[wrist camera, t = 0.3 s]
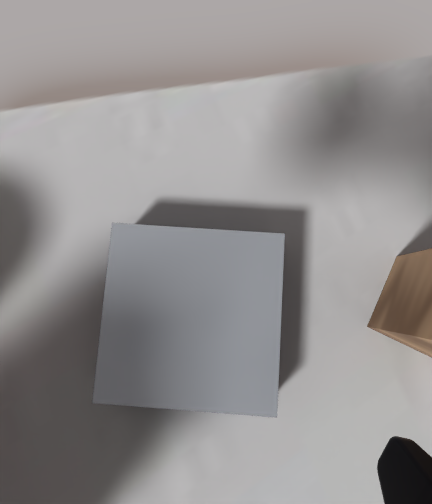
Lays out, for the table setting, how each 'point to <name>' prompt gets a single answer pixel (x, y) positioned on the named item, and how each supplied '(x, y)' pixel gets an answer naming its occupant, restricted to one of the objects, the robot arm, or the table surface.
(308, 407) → the table surface
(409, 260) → the walnut block
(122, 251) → the plate
